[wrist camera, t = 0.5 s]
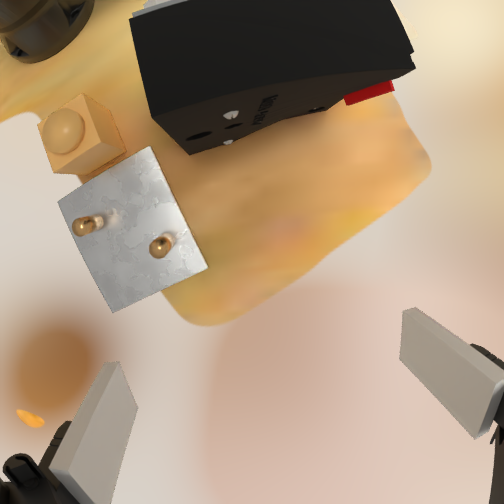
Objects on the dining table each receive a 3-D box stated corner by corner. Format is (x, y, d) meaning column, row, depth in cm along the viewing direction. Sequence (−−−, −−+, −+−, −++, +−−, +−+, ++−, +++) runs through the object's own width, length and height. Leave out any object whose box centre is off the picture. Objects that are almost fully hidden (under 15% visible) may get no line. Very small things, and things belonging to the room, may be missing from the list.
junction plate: (60, 201, 34) (57, 201, 33) (151, 146, 34) (149, 145, 33) (114, 310, 38) (112, 313, 37) (208, 266, 38) (208, 268, 37)
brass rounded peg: (155, 237, 36) (145, 244, 31) (170, 229, 36) (162, 236, 31) (163, 252, 36) (154, 262, 31) (177, 245, 36) (171, 253, 31)
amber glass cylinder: (87, 218, 34) (69, 223, 29) (99, 211, 34) (82, 214, 29) (93, 233, 35) (76, 239, 30) (106, 225, 35) (90, 231, 30)
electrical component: (306, 53, 33) (369, -36, 14) (331, 124, 36) (424, 76, 16) (169, 84, 33) (124, -4, 13) (191, 160, 35) (154, 128, 16)
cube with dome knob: (71, 135, 33) (29, 122, 23) (109, 110, 33) (76, 88, 23) (86, 175, 34) (46, 172, 24) (126, 151, 34) (94, 139, 24)
